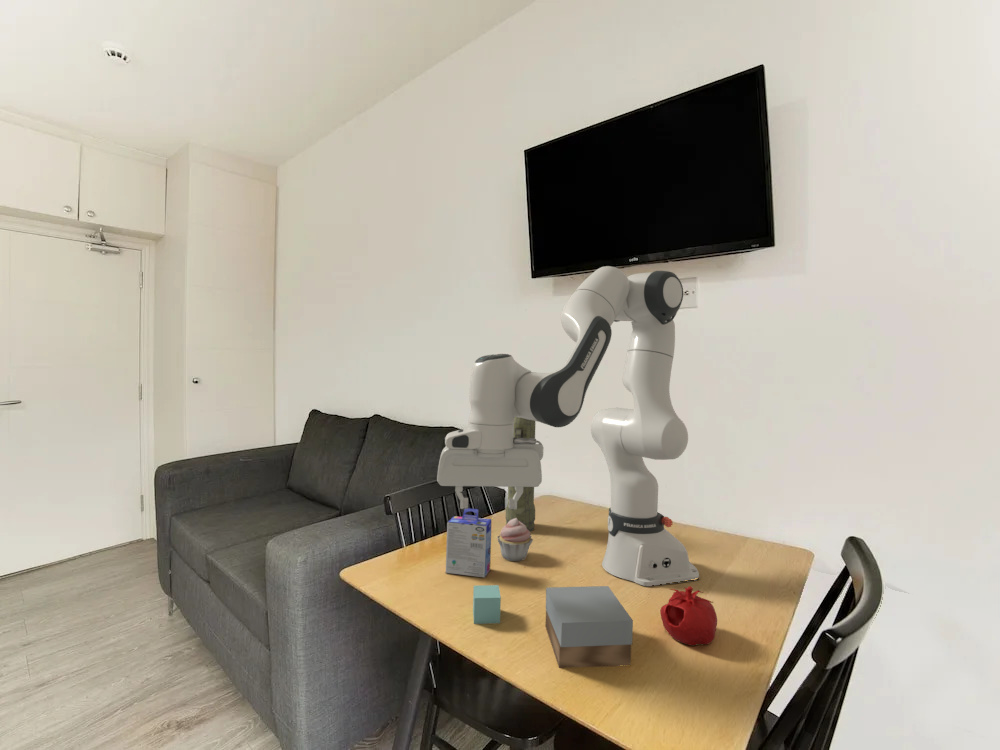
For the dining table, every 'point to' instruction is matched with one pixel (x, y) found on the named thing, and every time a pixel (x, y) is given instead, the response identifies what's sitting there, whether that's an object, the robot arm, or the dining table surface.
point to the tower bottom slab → (587, 653)
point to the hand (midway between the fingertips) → (488, 508)
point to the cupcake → (514, 541)
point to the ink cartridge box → (468, 545)
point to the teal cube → (486, 604)
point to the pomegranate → (689, 618)
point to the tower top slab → (588, 616)
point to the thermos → (526, 500)
